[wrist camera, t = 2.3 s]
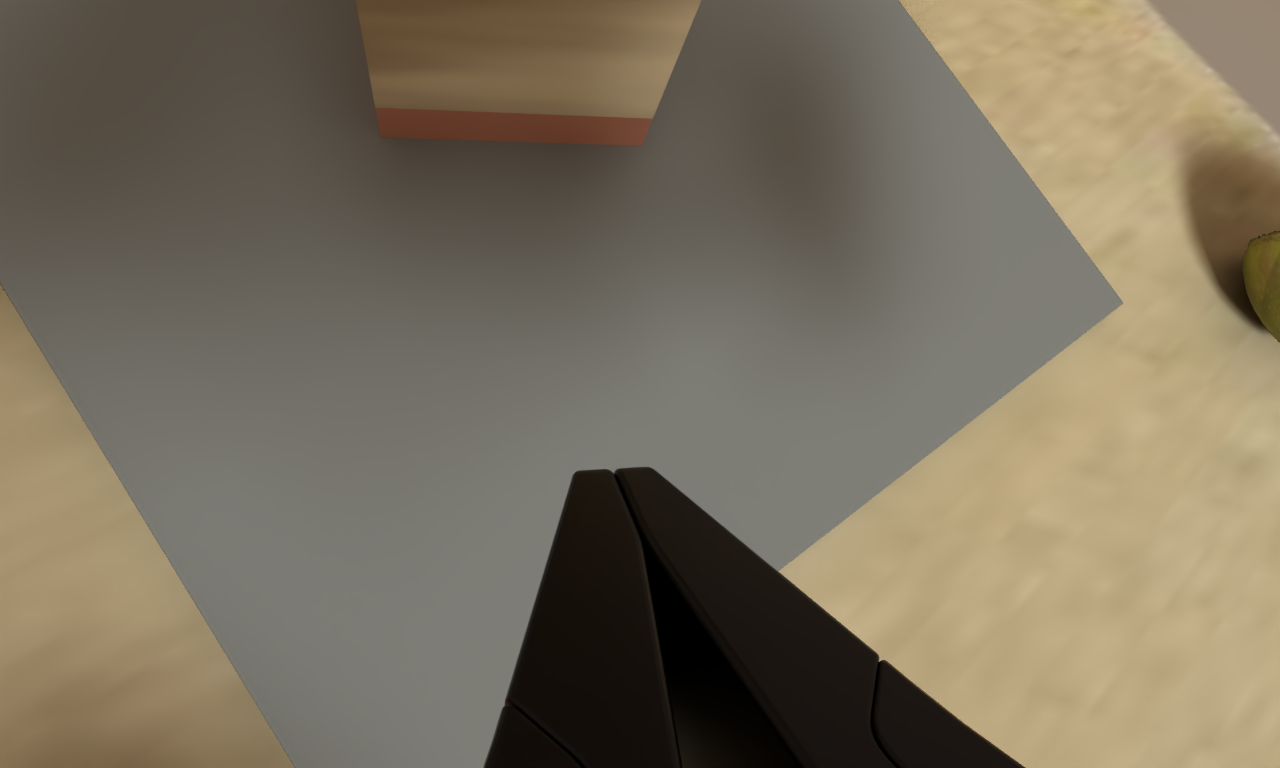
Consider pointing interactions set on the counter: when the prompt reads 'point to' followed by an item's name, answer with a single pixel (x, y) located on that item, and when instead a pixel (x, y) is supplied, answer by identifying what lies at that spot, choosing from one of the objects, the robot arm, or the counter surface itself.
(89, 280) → the slate mat
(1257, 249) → the lime
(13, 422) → the counter surface
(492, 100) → the maple block
